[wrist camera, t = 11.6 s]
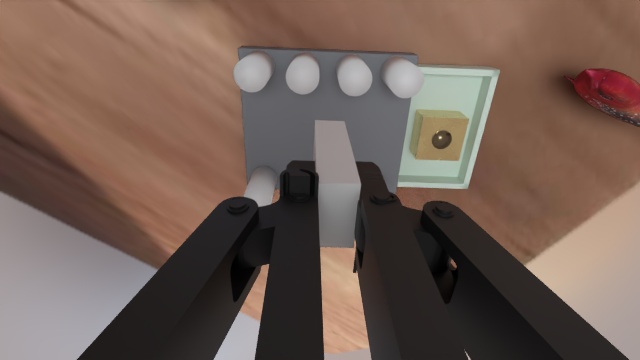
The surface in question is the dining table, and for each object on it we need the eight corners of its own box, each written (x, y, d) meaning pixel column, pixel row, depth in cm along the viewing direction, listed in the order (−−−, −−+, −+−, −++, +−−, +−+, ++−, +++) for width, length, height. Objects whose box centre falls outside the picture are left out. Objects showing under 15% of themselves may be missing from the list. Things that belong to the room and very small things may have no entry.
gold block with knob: (409, 149, 38) (415, 159, 35) (416, 109, 36) (423, 117, 33) (449, 150, 38) (459, 161, 36) (459, 110, 36) (469, 119, 33)
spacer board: (250, 180, 40) (238, 212, 34) (242, 45, 33) (224, 55, 27) (392, 185, 41) (405, 217, 34) (413, 52, 34) (434, 63, 27)
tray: (393, 177, 40) (397, 186, 38) (411, 63, 34) (417, 66, 32) (460, 180, 40) (467, 188, 38) (489, 66, 34) (499, 70, 32)
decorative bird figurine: (541, 42, 33) (621, 56, 24) (665, 119, 37) (774, 155, 28) (521, 70, 34) (591, 92, 26) (642, 141, 38) (741, 183, 29)
